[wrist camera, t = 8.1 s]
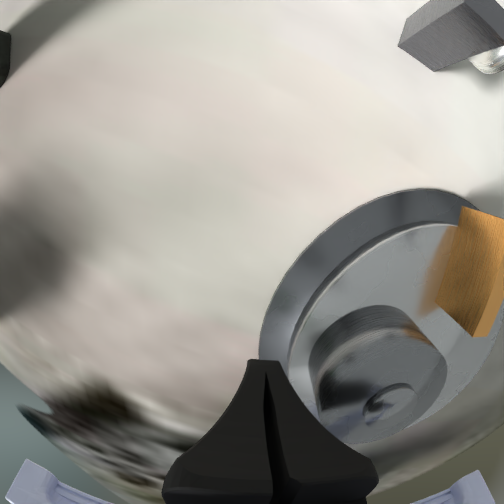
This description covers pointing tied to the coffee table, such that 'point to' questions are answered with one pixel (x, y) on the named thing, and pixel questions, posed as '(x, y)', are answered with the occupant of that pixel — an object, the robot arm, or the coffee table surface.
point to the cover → (374, 374)
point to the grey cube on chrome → (456, 34)
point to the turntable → (417, 295)
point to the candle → (4, 55)
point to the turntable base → (338, 248)
